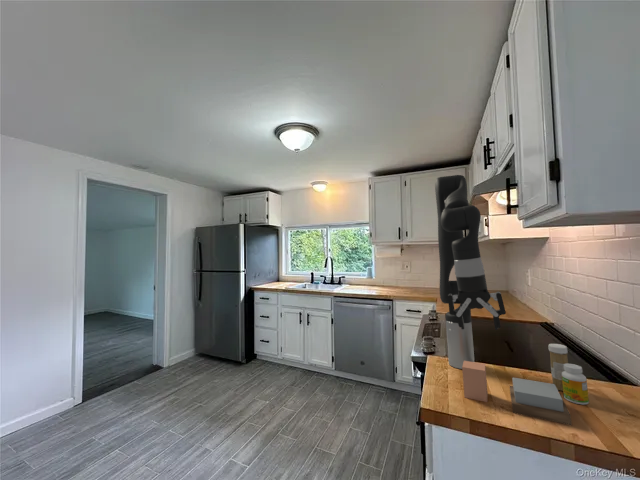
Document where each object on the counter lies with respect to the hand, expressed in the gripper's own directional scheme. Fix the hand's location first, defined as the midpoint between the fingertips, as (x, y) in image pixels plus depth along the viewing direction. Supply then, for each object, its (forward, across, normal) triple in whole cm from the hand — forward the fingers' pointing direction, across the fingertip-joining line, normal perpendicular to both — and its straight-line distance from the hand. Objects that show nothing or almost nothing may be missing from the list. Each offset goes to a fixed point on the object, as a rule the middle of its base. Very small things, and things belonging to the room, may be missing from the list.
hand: (479, 328), depth 79 cm
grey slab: (+21, -11, -4) cm, 24 cm away
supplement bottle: (+25, -21, -14) cm, 35 cm away
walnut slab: (+24, -11, -4) cm, 26 cm away
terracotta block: (+22, +4, -4) cm, 23 cm away
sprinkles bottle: (+25, -19, -21) cm, 38 cm away
